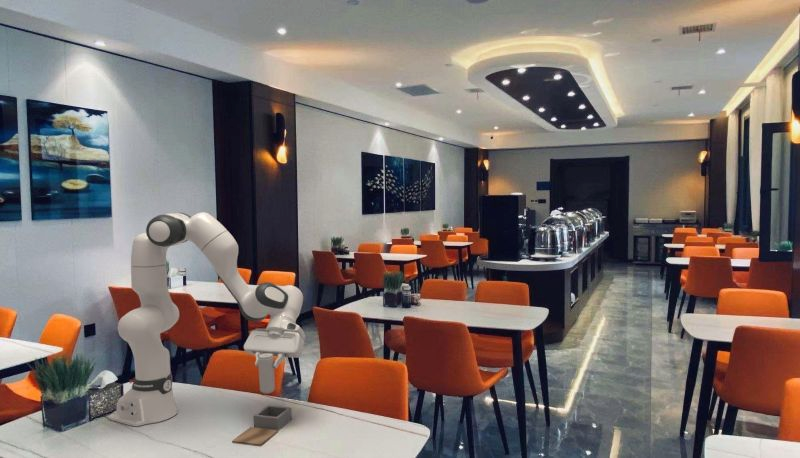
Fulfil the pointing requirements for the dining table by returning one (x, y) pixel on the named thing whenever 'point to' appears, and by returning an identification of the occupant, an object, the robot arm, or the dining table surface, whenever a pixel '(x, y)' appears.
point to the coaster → (255, 436)
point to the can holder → (272, 417)
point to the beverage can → (266, 373)
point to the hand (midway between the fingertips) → (265, 366)
